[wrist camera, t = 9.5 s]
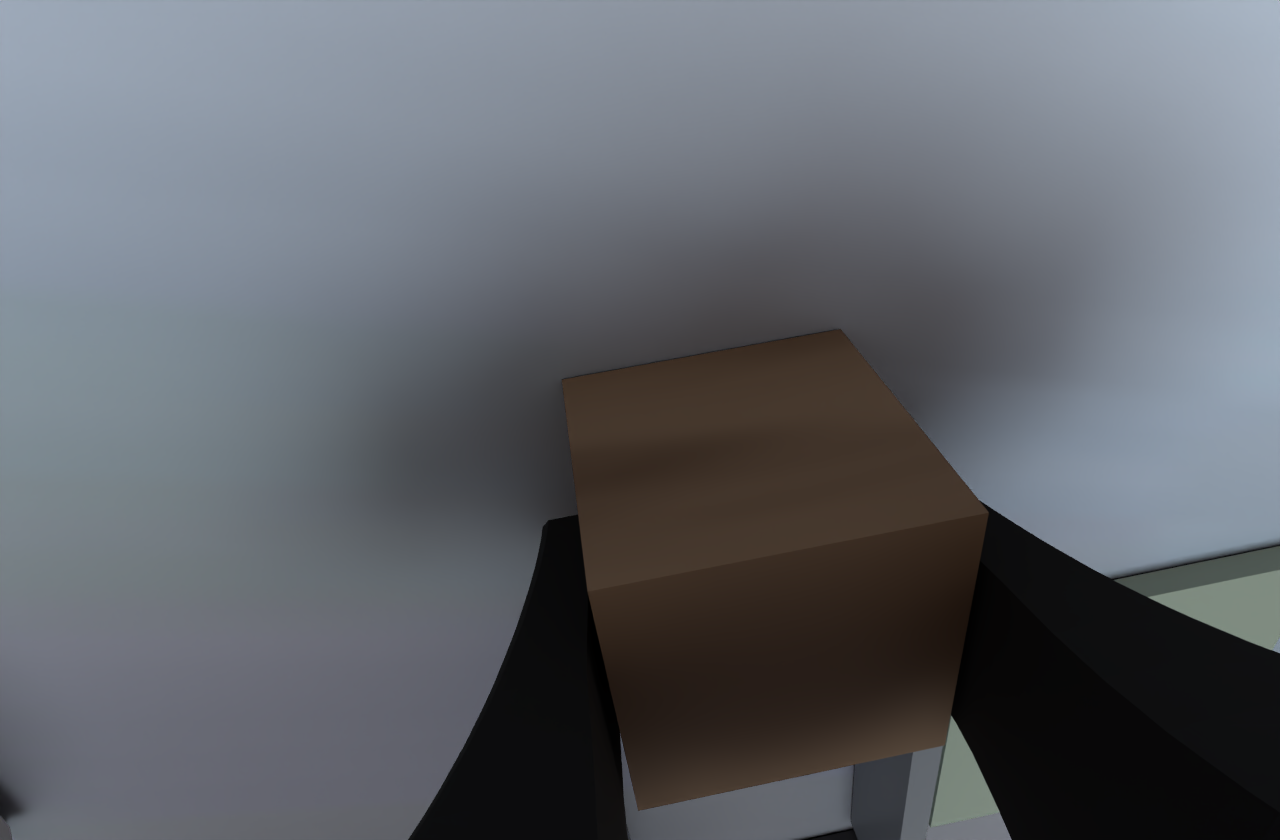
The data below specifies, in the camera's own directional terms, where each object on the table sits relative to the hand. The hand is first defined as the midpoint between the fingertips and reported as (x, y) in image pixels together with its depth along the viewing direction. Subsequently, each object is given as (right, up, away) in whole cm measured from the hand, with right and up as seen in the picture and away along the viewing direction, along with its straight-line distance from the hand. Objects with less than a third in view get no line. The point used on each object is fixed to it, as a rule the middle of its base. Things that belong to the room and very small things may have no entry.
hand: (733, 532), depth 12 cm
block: (0, +1, +1) cm, 1 cm away
